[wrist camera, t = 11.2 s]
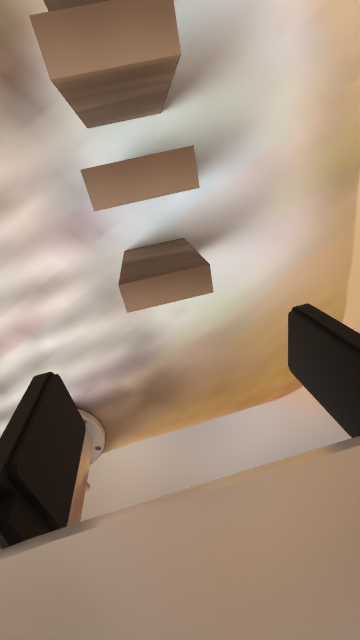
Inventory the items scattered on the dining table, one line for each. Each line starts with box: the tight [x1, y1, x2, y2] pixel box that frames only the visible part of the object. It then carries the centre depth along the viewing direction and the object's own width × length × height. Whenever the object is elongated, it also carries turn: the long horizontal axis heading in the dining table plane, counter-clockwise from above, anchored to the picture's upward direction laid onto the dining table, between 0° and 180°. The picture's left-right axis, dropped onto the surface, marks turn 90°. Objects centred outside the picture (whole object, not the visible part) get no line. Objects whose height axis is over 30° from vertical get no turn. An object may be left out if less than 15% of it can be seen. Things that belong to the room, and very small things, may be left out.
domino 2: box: [81, 145, 199, 211], centre depth 18 cm, size 2×6×10 cm, turn 101°
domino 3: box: [119, 238, 213, 313], centre depth 21 cm, size 2×6×10 cm, turn 100°
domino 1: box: [30, 0, 181, 128], centre depth 15 cm, size 2×6×10 cm, turn 101°
